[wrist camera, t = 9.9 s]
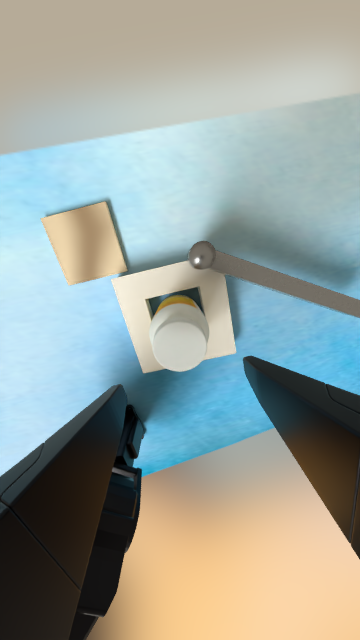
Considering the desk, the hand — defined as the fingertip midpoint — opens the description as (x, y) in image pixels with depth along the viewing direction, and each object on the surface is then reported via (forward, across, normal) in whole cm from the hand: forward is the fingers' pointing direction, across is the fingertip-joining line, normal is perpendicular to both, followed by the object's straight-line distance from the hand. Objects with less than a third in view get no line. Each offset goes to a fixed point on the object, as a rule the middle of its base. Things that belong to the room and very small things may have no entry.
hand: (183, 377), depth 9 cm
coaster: (+13, +8, -10) cm, 18 cm away
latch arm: (+11, -11, -2) cm, 15 cm away
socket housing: (+13, 0, 0) cm, 13 cm away
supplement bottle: (+13, 0, 0) cm, 13 cm away
